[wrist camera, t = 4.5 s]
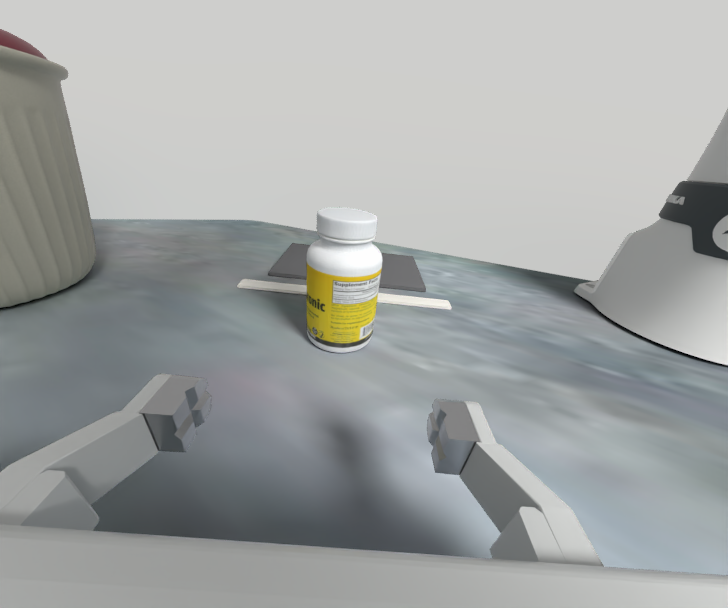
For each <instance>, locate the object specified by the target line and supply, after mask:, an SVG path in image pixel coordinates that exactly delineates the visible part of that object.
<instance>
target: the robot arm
mask: <svg viewBox="0 0 728 608" xmlns="http://www.w3.org/2000/svg"><path fill="white" fill-rule="evenodd" d="M687 180H688V181H682V182H680V183H679V184H678V186H677V187H676V188H675V190H674V191H673V193H672V194H670V195H669V197H668V198H667V200H666V203H665V205H664V207H663V208H662V210H661V212H660V213H659V216H660V217H661V219H660V220H658V221H657V222H656V223H654V224H653V225H651V226H649V227H647V228H645V229H642V230H639V231H636V232H634V233H631V234H629V235H628V236H627V237H626V238H625V240H624V241H623V242H622V244H621V246H620V247H619V249H618V251H617V252H616V253H615V255H614V257H613V258H612V260H611V261H610V263H609V265H608V266H607V268H606V269H605V271H604V273H603V274H602V276H601V277H600V279H599V280H597V281H592V282H587V283H582V284H579V285H578V286H577V287H576V288H575V290H574V292H575V293H577V294H578V295H580V296H581V297H583V298H585V299H586V300H588V301H590V302H591V303H592V304H593V305H594V306H595V307H596V308H597V309H598V310H599V311H600V312H601V313H603V314H604V315H605V316H607V317H608V318H610V319H611V320H613V321H614V322H616V323H618V324H620V325H621V326H623V327H625V328H627V329H629V330H631V331H633V332H635V333H637V334H639V335H641V336H643V337H645V338H648V339H650V340H652V341H655V342H657V343H659V344H662V345H664V346H667V347H669V348H672V349H675V350H678V351H680V352H683V353H686V354H689V355H692V356H695V357H698V358H702V359H705V360H709V361H712V362H716V363H720V364H724V365H728V109H727V111H726V113H725V115H724V117H723V119H722V121H721V123H720V125H719V126H718V128H717V130H716V132H715V134H714V136H713V138H712V139H711V141H710V143H709V144H708V146H707V148H706V150H705V151H704V153H703V155H702V156H701V158H700V160H699V161H698V163H697V165H696V166H695V168H694V170H693V171H692V173H691V175H690V176H689V178H688V179H687ZM692 181H693V182H692ZM207 387H208V383H207V380H206V379H204V378H198V377H189V376H181V375H170V374H161V373H160V374H158V375H156V376H154V377H153V378H152V379H151V380H150V381H149V382H148V383H147V384H146V385H145V386H144V387H143V388H142V390H141V391H140V392H139V393H138V394H137V395H136V396H135V397H134V398H133V399H132V400H131V401H130V402H129V403H128V404H127V405H126V406H125V407H124V408H123V409H122V410H121V411H120V412H113V413H111V414H109V415H107V416H105V417H103V418H101V419H99V420H97V421H95V422H93V423H91V424H89V425H87V426H85V427H83V428H81V429H79V430H77V431H75V432H73V433H71V434H69V435H67V436H65V437H63V438H61V439H59V440H57V441H56V442H54V443H52V444H50V445H48V446H46V447H44V448H42V449H40V450H38V451H36V452H34V453H32V454H30V455H28V456H26V457H24V458H22V459H20V460H18V461H16V462H14V463H12V464H10V465H8V466H7V467H6V468H5V469H3V470H2V471H1V472H0V608H728V575H715V574H700V573H686V572H672V571H658V570H644V569H630V568H616V567H604V566H603V564H602V562H601V560H600V559H599V557H598V555H597V553H596V552H595V550H594V548H593V546H592V544H591V543H590V541H589V539H588V537H587V536H586V534H585V532H584V530H583V528H582V527H581V525H580V523H579V521H578V519H577V518H576V516H575V514H574V512H573V511H572V509H571V508H570V507H569V506H568V505H567V504H565V503H564V502H563V501H562V500H561V499H560V498H559V497H558V496H557V495H556V494H555V493H553V492H552V491H551V490H550V489H549V488H548V487H547V486H546V485H545V484H544V483H543V482H542V481H540V480H539V479H538V478H537V477H536V476H535V475H534V474H533V473H532V472H531V471H530V470H528V469H527V468H526V467H525V466H524V465H523V464H522V463H521V462H520V461H519V460H518V459H517V458H515V457H514V456H513V455H512V454H511V453H510V452H509V451H508V450H507V449H506V448H505V447H503V446H502V445H501V444H497V443H496V441H495V438H494V436H493V434H492V432H491V429H490V427H489V425H488V423H487V420H486V418H485V416H484V414H483V411H482V409H481V407H480V405H479V404H478V403H477V402H469V401H459V400H446V399H435V400H434V402H433V404H432V408H433V412H432V413H430V414H429V417H428V420H427V435H428V440H429V442H430V443H431V445H432V446H433V450H432V452H431V455H432V460H433V465H434V470H435V473H443V474H452V475H460V478H461V479H462V481H463V482H464V483H465V485H466V486H467V488H468V489H469V490H470V492H471V493H472V494H473V496H474V497H475V498H476V500H477V501H478V503H479V504H480V505H481V507H482V508H483V509H484V511H485V512H486V514H487V515H488V516H489V518H490V519H491V520H492V522H493V523H494V524H495V526H496V527H497V529H498V530H499V531H500V533H501V534H500V535H499V537H498V538H497V539H496V541H495V542H494V543H493V545H492V546H491V548H490V552H491V555H492V559H488V558H474V557H460V556H446V555H432V554H417V553H403V552H389V551H375V550H361V549H347V548H332V547H318V546H304V545H290V544H276V543H262V542H247V541H233V540H219V539H205V538H190V537H176V536H162V535H148V534H133V533H119V532H105V531H93V530H94V528H95V527H96V525H97V524H98V523H99V516H98V515H97V513H96V512H95V511H94V509H93V508H92V507H91V505H92V504H93V503H94V502H96V501H97V500H98V499H100V498H101V497H102V496H103V495H105V494H106V493H107V492H109V491H110V490H111V489H113V488H114V487H115V486H116V485H118V484H119V483H120V482H122V481H123V480H124V479H125V478H127V477H128V476H129V475H131V474H132V473H133V472H134V471H136V470H137V469H138V468H140V467H141V466H142V465H143V464H145V463H146V462H147V461H149V460H150V459H151V458H152V457H154V456H155V455H156V454H158V453H159V451H167V452H186V451H187V449H188V448H189V446H190V445H191V443H192V441H193V440H194V438H195V436H196V435H197V431H196V427H198V426H199V425H201V424H202V423H204V422H205V420H206V418H207V417H208V415H209V412H210V409H211V395H210V394H209V393H208V392H207V391H206V388H207Z"/></svg>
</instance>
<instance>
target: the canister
mask: <svg viewBox="0 0 728 608" xmlns="http://www.w3.org/2000/svg"><path fill="white" fill-rule="evenodd" d="M67 77H68V71H67V70H66V69H65V68H64V67H63V66H61V65H58V64H56V63H54V62H51V61H49V60H47V59H46V57H44V56H43V54H42V53H41V52H40V51H39V50H37V49H36V48H34V47H33V46H32V45H31V44H29V43H27V42H26V41H24V40H22V39H20V38H18V37H17V36H15V35H13V34H11V33H9V32H6V31H4V30H2V29H0V308H2V307H9V306H13V305H16V304H19V303H25V302H29V301H31V300H34V299H38V298H42V297H44V296H46V295H49V294H53V293H56V292H58V291H59V290H63V289H65V288H68V287H69V286H70V285H73V284H75V283H77V282H78V281H79V280H81V279H83V278H84V277H85V276H86V275H87V274H88V273H89V272H90V270H91V268H92V266H93V264H94V262H95V258H96V246H95V239H94V234H93V228H92V223H91V218H90V213H89V208H88V202H87V198H86V193H85V188H84V184H83V180H82V175H81V171H80V166H79V163H78V158H77V154H76V149H75V145H74V140H73V136H72V131H71V127H70V122H69V118H68V114H67V110H66V106H65V102H64V97H63V93H62V89H61V84H60V82H61V80H64V79H66V78H67Z"/></svg>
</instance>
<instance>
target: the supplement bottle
mask: <svg viewBox="0 0 728 608" xmlns="http://www.w3.org/2000/svg"><path fill="white" fill-rule="evenodd" d="M377 222H378V218H377V216H376V215H375V214H372V213H370V212H367V211H364V210H359V209H353V208H342V207H334V208H324V209H320V210H319V211H318V213H317V234H318V235H319V236H320V239H319V240H317V241H315V242H314V243H312V244H311V246H310V247H309V248H308V251H307V262H306V271H307V334H308V337H309V339H310V340H311V341H312V343H313V344H315V345H316V346H317V347H319V348H321V349H323V350H326V351H329V352H335V353H347V352H353V351H356V350H359V349H361V348H363V347H364V346H366V345H367V344H368V342H369V341H370V339H371V337H372V333H373V326H374V319H375V312H376V304H377V297H378V290H379V283H380V276H381V270H382V261H383V260H382V254H381V252H380V250H379V249H378V248H377V247H376V246H375V245H373V244H372V241H373V240H374V239H375V237H376V236H375V235H376V229H377Z"/></svg>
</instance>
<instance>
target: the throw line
mask: <svg viewBox="0 0 728 608" xmlns="http://www.w3.org/2000/svg"><path fill="white" fill-rule="evenodd" d="M237 287H238V288H246V289H256V290H265V291H275V292H284V293H294V294H304V295H307V286H306V285H297V284H287V283H277V282H268V281H258V280H249V279H243V280H242V281H241V282H240V283H239V284H238V285H237ZM377 302H381V303H390V304H400V305H409V306H419V307H429V308H438V309H448V310H451V305H450V303H449V301H448V300H439V299H430V298H420V297H411V296H401V295H392V294H382V293H378V297H377Z"/></svg>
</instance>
